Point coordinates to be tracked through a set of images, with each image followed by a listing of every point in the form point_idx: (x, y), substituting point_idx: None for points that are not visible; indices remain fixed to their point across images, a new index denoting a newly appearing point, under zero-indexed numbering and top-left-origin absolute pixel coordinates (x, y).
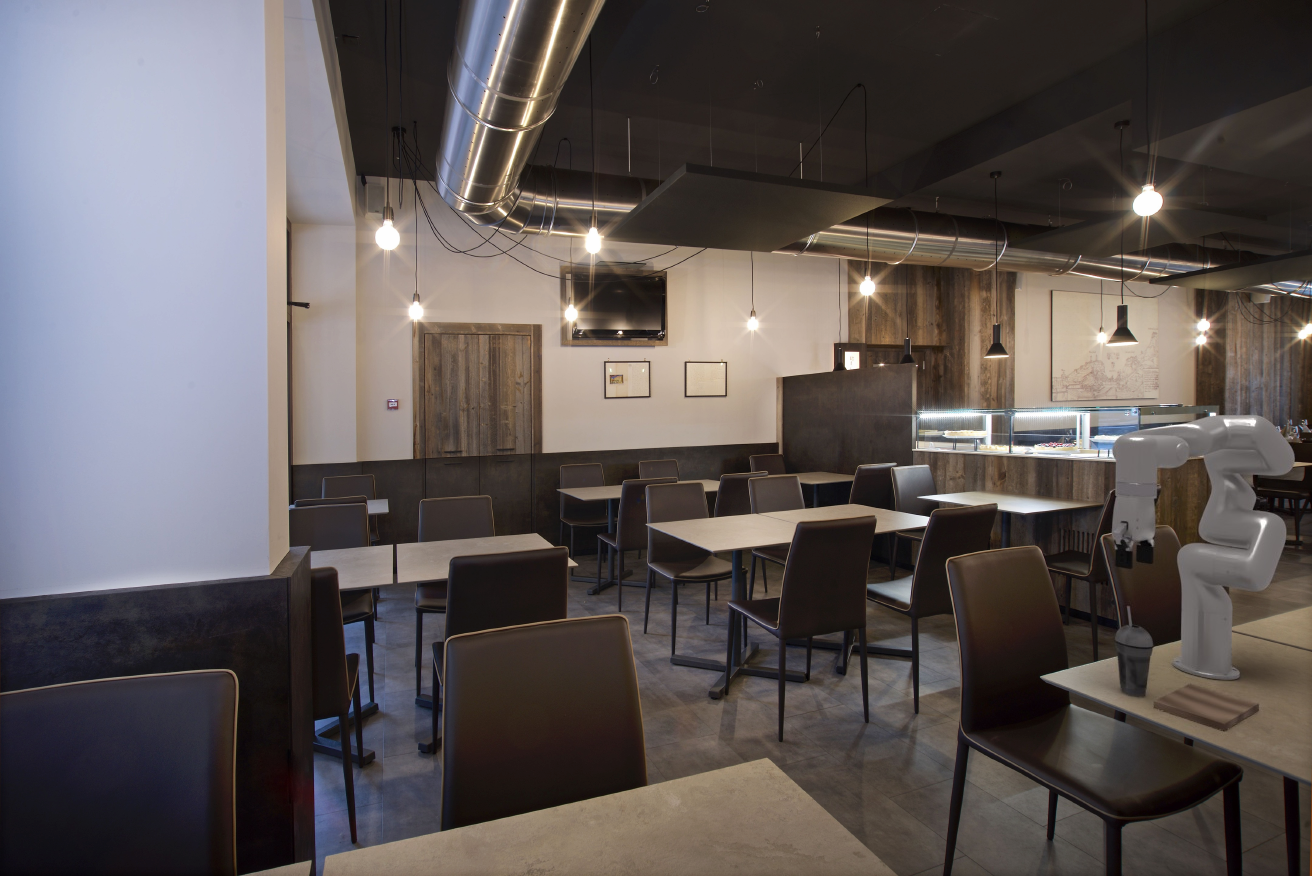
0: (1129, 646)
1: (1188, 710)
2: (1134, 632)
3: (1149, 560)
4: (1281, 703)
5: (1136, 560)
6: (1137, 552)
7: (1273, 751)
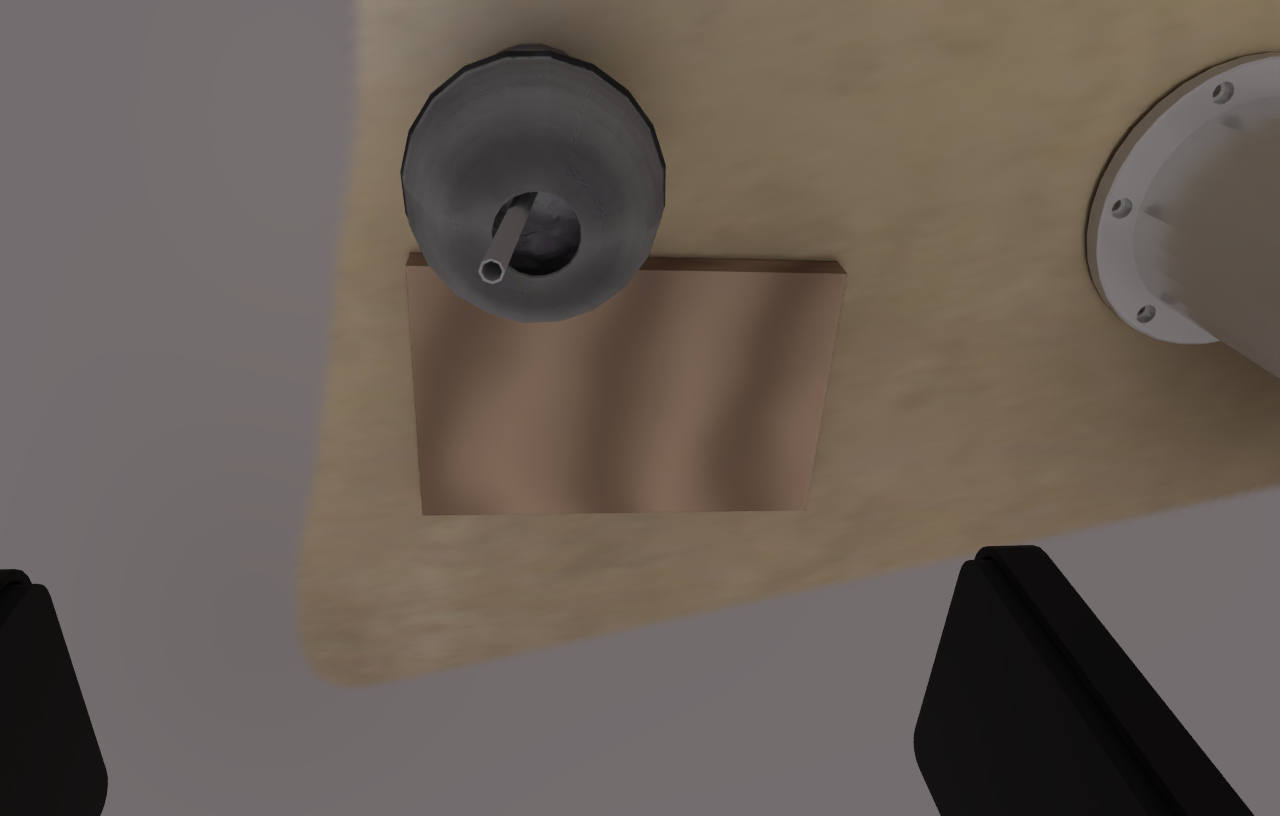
0: (406, 210)
1: (438, 395)
2: (450, 262)
3: (940, 777)
4: (957, 510)
5: (971, 565)
6: (1062, 725)
7: (397, 624)
